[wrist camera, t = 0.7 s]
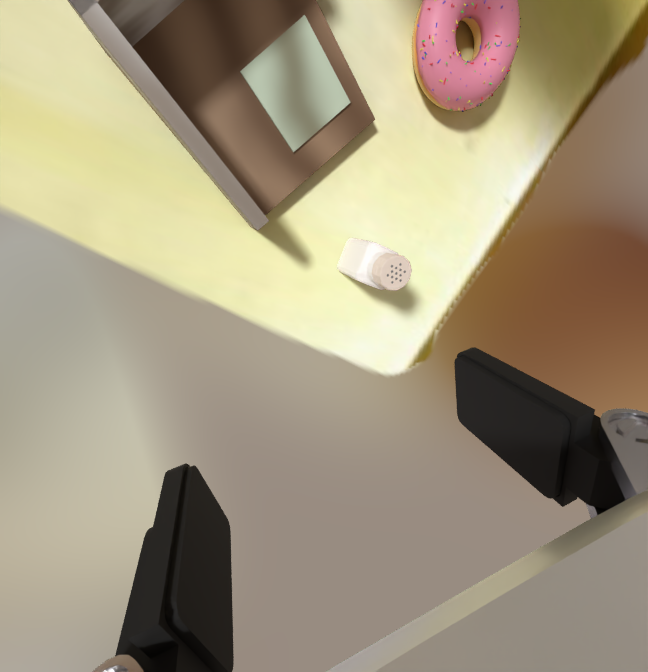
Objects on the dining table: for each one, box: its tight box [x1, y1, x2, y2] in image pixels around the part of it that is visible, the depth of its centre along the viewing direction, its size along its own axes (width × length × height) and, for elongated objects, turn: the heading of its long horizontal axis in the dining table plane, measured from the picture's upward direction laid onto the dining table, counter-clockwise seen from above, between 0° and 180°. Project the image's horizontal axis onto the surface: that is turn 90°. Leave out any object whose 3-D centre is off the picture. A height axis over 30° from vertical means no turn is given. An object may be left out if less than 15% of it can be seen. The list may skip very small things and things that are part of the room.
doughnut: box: [412, 0, 521, 112], centre depth 29 cm, size 11×11×4 cm
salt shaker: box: [337, 238, 412, 291], centre depth 31 cm, size 4×4×10 cm
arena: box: [68, 0, 375, 230], centre depth 24 cm, size 16×16×7 cm
